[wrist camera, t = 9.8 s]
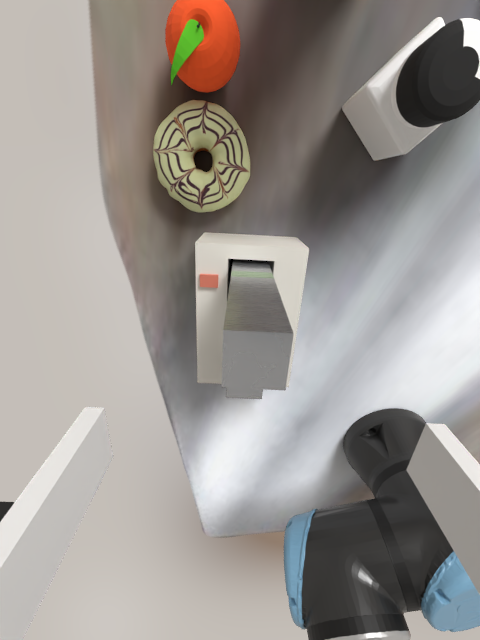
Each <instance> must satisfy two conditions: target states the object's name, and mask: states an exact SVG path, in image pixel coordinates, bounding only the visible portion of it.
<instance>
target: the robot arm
mask: <svg viewBox="0 0 480 640" xmlns="http://www.w3.org/2000/svg"><path fill="white" fill-rule="evenodd" d="M344 451H345V454H346V456H347V459H348V461H349V463H350V465H351V466H352V468H353V469H354V470H355V471H356V472H357V473H358V475H359V476H360V477H361V478H362V480H363V481H364V482H365V483H366V485H367V486H368V487H369V488H370V489H371V491H372V492H373V495H374V497H375V499H371V500H365V501H360V502H355V503H350V504H345V505H340V506H335V507H330V508H325V509H320V510H318V509H313V510H312V511H310V512H307V513H303V514H299V515H296V516H294V517H292V518H291V519H290V520H289V522H288V524H287V526H286V531H285V537H284V570H285V582H286V590H287V595H288V596H289V607H290V611H291V615H292V618H293V621H294V623H295V624H296V625H297V626H298V627H301V628H302V629H307V632H308V638H309V640H410V637H411V634H410V632H409V629H408V627H407V624H406V621H405V618H404V615H403V614H404V613H405V612H410V611H418V610H422V613H423V615H424V617H425V618H426V619H427V620H428V622H429V623H430V624H431V626H432V627H434V628H435V629H437V630H440V631H446V630H450V631H451V632H456V631H463V630H468V629H471V628H474V627H477V626H480V464H479V463H478V462H477V461H476V460H475V459H474V457H473V456H472V455H471V454H470V453H469V452H468V451H467V449H466V448H465V447H464V446H463V445H462V444H461V443H460V441H459V440H458V439H457V438H456V437H455V436H454V434H453V433H452V432H451V431H450V430H449V429H448V428H447V426H446V425H445V424H431V423H426V422H425V421H424V420H423V418H422V417H420V416H419V415H418V414H416V413H414V412H412V411H409V410H404V409H384V410H379V411H376V412H373V413H370V414H368V415H366V416H364V417H363V418H361V419H359V420H358V421H357V422H356V423H354V424H353V425H352V427H351V428H350V429H349V430H348V432H347V434H346V436H345V439H344ZM112 458H113V452H112V446H111V441H110V436H109V431H108V425H107V420H106V414H105V409H104V408H96V407H85V408H84V409H83V411H82V412H81V414H80V415H79V416H78V418H77V419H76V420H75V422H74V423H73V424H72V426H71V427H70V428H69V430H68V431H67V433H66V434H65V435H64V437H63V438H62V439H61V441H60V442H59V443H58V445H57V446H56V447H55V449H54V450H53V451H52V453H51V454H50V456H49V457H48V458H47V460H46V461H45V462H44V464H43V465H42V466H41V468H40V469H39V470H38V472H37V473H36V475H35V476H34V477H33V478H32V480H31V481H30V483H29V484H28V485H27V487H26V488H25V489H24V491H23V492H22V493H21V495H20V496H19V498H18V499H17V500H16V501H15V502H0V640H23V638H24V636H25V634H26V632H27V630H28V628H29V626H30V624H31V622H32V620H33V618H34V616H35V614H36V612H37V610H38V608H39V606H40V604H41V602H42V600H43V598H44V596H45V594H46V592H47V590H48V588H49V586H50V584H51V582H52V580H53V578H54V576H55V574H56V571H57V569H58V567H59V565H60V563H61V561H62V559H63V557H64V555H65V553H66V551H67V549H68V547H69V545H70V543H71V541H72V539H73V537H74V535H75V533H76V531H77V529H78V527H79V525H80V523H81V521H82V519H83V517H84V515H85V513H86V511H87V509H88V507H89V505H90V503H91V501H92V499H93V497H94V495H95V493H96V491H97V489H98V486H99V484H100V482H101V480H102V478H103V476H104V474H105V472H106V470H107V468H108V466H109V464H110V462H111V460H112Z"/></svg>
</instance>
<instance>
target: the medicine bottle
mask: <svg viewBox="0 0 480 640" xmlns="http://www.w3.org/2000/svg"><path fill="white" fill-rule="evenodd" d="M479 100H480V21H479V20H476V19H472V18H464V19H458V20H455V21H452V22H450V23H448V24H446V25H445V24H444V21H443V19H442V18H441V17H437V18H436V19H434V20H433V21H432V22H431V23H430V24H429V25H428V26H427V27H425V28H424V29H423V30H422V31H421V32H420V33H419V34H418V35H416V36H415V37H414V38H413V39H412V40H411V41H410V42H409V43H407V44H406V45H405V46H404V47H403V48H402V49H401V50H400V51H398V52H397V53H396V54H395V55H394V56H393V57H392V58H391V59H390V60H389V61H388V62H387V63H386V64H385V65H384V66H383V67H382V68H381V69H380V70H379V71H378V72H377V73H376V74H375V75H374V76H373V77H371V78H370V79H369V80H368V81H367V82H366V83H365V84H364V85H363V86H362V87H361V88H360V89H359V90H358V91H357V92H356V93H355V94H354V95H353V96H352V97H351V98H350V99H349V100H348V101H347V102H346V103H345V104H344V105H343V106H342V110H343V112H344V113H345V115H346V117H347V118H348V120H349V122H350V123H351V125H352V126H353V128H354V130H355V131H356V133H357V135H358V136H359V138H360V139H361V141H362V143H363V144H364V146H365V147H366V149H367V151H368V152H369V154H370V156H371V157H372V159H373V160H374V161H378V160H383V159H387V158H392V157H397V156H401V155H405V154H407V153H408V152H409V151H410V150H412V149H413V148H414V147H415V146H416V145H417V144H419V143H420V142H421V141H422V140H423V139H425V138H426V137H427V136H428V135H429V134H430V133H432V132H433V131H434V130H435V129H436V128H438V127H439V126H440V125H441V124H442V123H444V122H447V121H450V120H452V119H455V118H458V117H460V116H462V115H463V114H465V113H466V112H468V111H469V110H470V109H472V108H473V107H474V106H475V105H476V104H477V103H478V102H479Z"/></svg>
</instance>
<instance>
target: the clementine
mask: <svg viewBox="0 0 480 640" xmlns="http://www.w3.org/2000/svg"><path fill="white" fill-rule="evenodd" d="M166 47H167V51H168V56H169V60H170V62H171V64H172V68H171V86H172V83H173V80H174V78H175V76H176V74H177V75H178V76H179V78H180V79H181V80H182V81H183V82H184V83H185V84H187V85H188V86H189V87H190V88H192V89H194V90H196V91H199V92H206V93H208V92H213V91H217V90H218V89H220V88H222V87H223V86H224V85H225V84H226V83H227V82H228V81H229V80H230V79H231V77H232V75H233V74H234V72H235V70H236V66H237V63H238V59H239V56H240V36H239V30H238V26H237V23H236V20H235V18H234V15H233V13H232V11H231V9H230V8H229V6H228V5H227V3H226V2H225V1H224V0H177V1H176V2H175V4H174V5H173V7H172V9H171V12H170V14H169V16H168V20H167V25H166Z"/></svg>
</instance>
